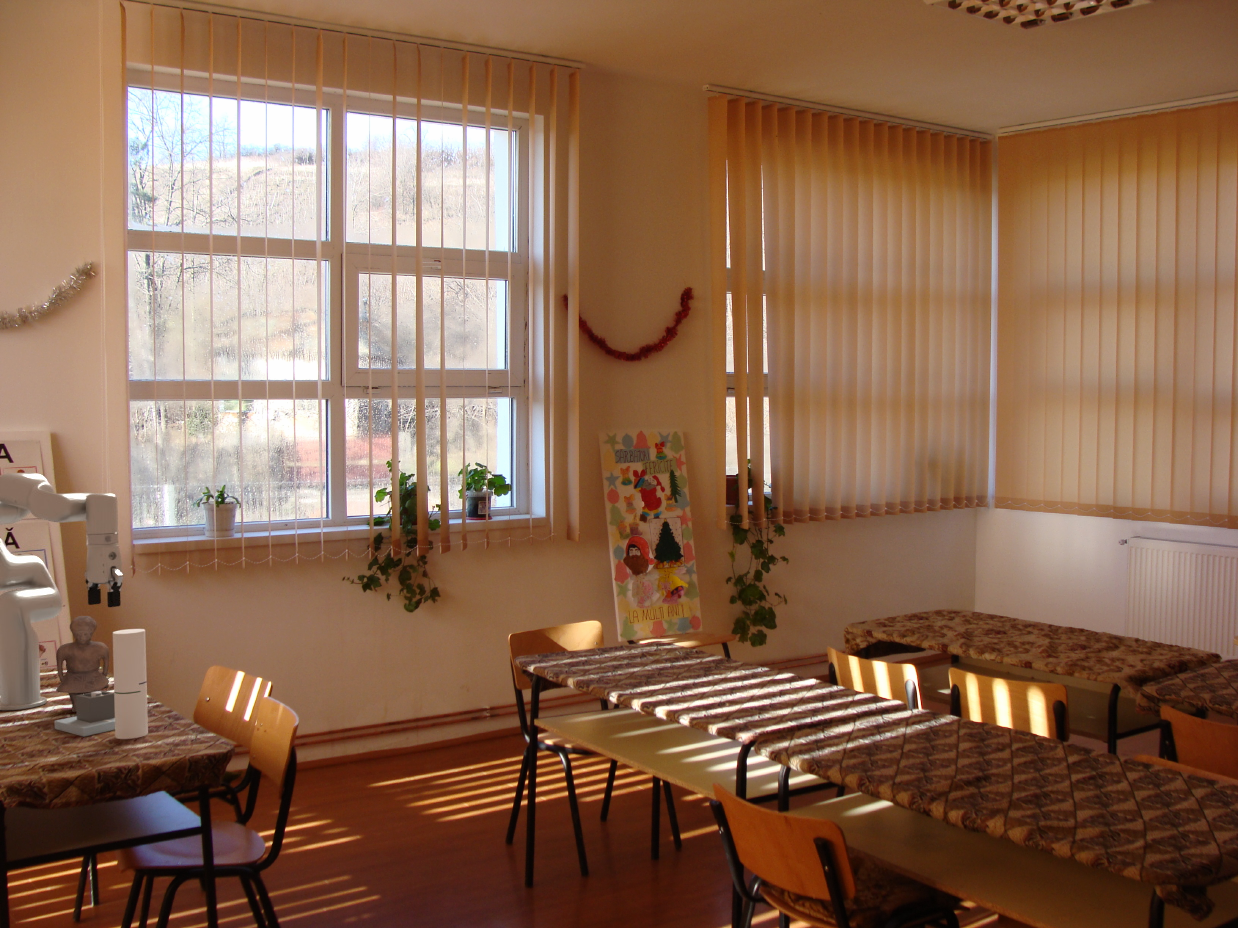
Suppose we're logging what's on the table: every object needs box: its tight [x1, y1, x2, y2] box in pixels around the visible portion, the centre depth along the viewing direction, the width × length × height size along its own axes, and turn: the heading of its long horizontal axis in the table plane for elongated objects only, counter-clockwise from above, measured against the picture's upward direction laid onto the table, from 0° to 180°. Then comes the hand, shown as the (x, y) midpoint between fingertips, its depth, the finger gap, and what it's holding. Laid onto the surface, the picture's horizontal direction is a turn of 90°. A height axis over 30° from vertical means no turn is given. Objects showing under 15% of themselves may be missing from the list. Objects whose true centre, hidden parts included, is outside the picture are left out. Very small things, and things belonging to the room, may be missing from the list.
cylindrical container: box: [112, 628, 149, 740], centre depth 257 cm, size 7×7×25 cm
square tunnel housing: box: [75, 690, 115, 723], centre depth 267 cm, size 7×7×6 cm
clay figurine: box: [55, 615, 110, 713], centre depth 286 cm, size 13×10×25 cm
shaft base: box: [54, 690, 115, 737], centre depth 267 cm, size 14×14×8 cm
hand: (104, 605), depth 281 cm, fingers open, 9 cm apart
